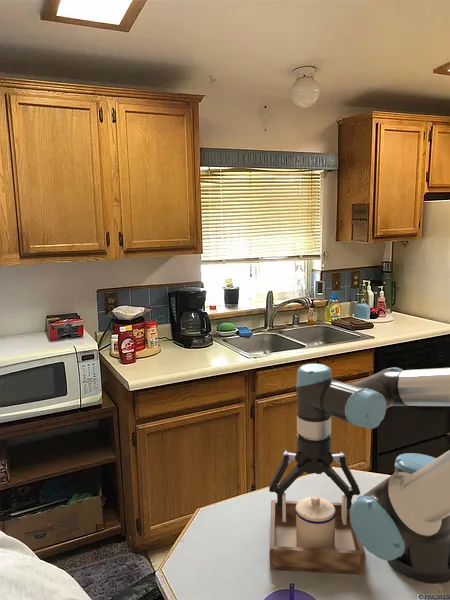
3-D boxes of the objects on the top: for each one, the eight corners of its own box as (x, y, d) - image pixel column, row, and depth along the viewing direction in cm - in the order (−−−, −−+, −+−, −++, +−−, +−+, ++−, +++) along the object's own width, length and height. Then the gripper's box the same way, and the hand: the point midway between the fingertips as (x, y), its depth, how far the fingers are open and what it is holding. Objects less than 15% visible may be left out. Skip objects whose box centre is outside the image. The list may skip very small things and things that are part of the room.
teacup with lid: (343, 551, 105) (344, 504, 103) (307, 562, 102) (307, 513, 100) (316, 520, 116) (316, 477, 114) (283, 529, 113) (282, 484, 112)
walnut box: (352, 521, 117) (352, 503, 116) (364, 574, 99) (365, 553, 99) (271, 518, 119) (271, 500, 119) (270, 569, 102) (269, 549, 101)
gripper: (368, 427, 107) (366, 511, 111) (258, 424, 110) (260, 507, 114) (374, 442, 100) (372, 532, 103) (257, 439, 103) (259, 527, 106)
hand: (313, 519), depth 108 cm, fingers open, 13 cm apart
